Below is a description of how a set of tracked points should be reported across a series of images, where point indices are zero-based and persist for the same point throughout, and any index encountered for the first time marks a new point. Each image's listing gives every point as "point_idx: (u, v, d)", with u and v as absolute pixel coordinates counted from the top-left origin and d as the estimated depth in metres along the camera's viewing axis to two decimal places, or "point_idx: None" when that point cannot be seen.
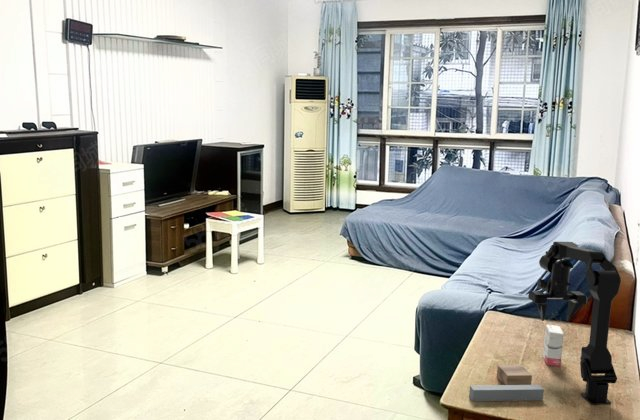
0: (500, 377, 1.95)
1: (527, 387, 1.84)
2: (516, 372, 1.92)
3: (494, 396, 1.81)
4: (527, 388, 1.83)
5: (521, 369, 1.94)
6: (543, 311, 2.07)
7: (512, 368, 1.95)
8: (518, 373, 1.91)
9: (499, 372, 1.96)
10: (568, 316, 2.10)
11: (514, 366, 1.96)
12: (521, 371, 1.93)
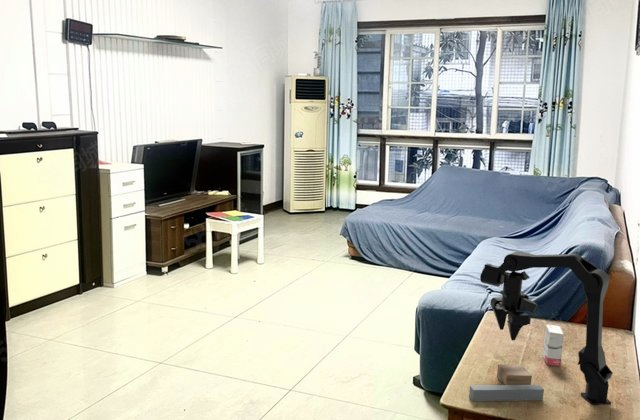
0: (500, 377, 1.95)
1: (527, 387, 1.84)
2: (515, 372, 1.92)
3: (494, 396, 1.81)
4: (527, 388, 1.83)
5: (521, 369, 1.94)
6: None
7: (513, 368, 1.95)
8: (518, 373, 1.91)
9: (499, 372, 1.96)
10: None
11: (514, 366, 1.96)
12: (521, 371, 1.93)
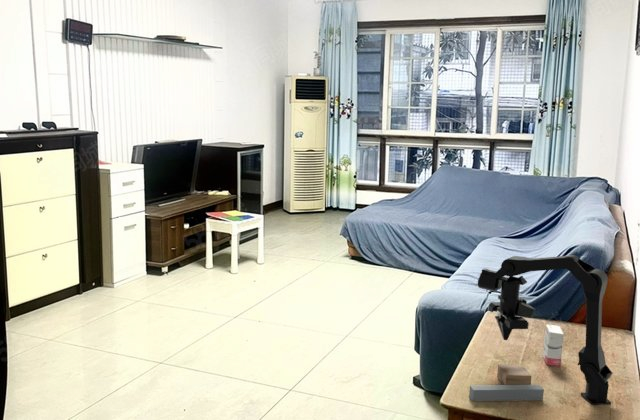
0: (500, 377, 1.95)
1: (527, 387, 1.84)
2: (515, 372, 1.92)
3: (494, 396, 1.81)
4: (527, 388, 1.83)
5: (521, 370, 1.94)
6: (499, 326, 2.02)
7: (513, 368, 1.95)
8: (518, 373, 1.91)
9: (499, 372, 1.96)
10: None
11: (515, 366, 1.96)
12: (521, 371, 1.93)
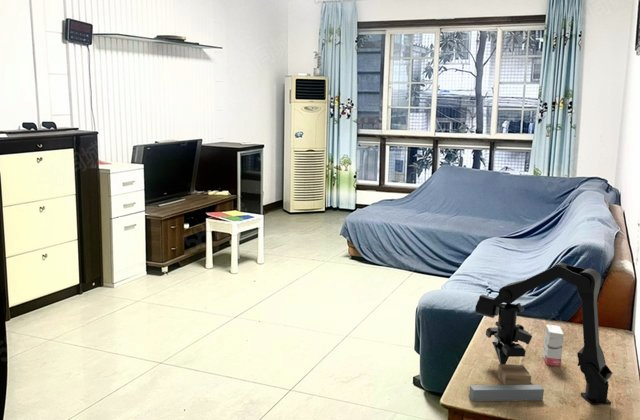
0: (500, 377, 1.96)
1: (527, 387, 1.84)
2: (515, 372, 1.92)
3: (494, 396, 1.81)
4: (527, 388, 1.83)
5: (521, 370, 1.94)
6: (496, 352, 2.03)
7: (513, 368, 1.95)
8: (518, 373, 1.91)
9: (499, 372, 1.96)
10: None
11: (515, 366, 1.96)
12: (521, 371, 1.93)
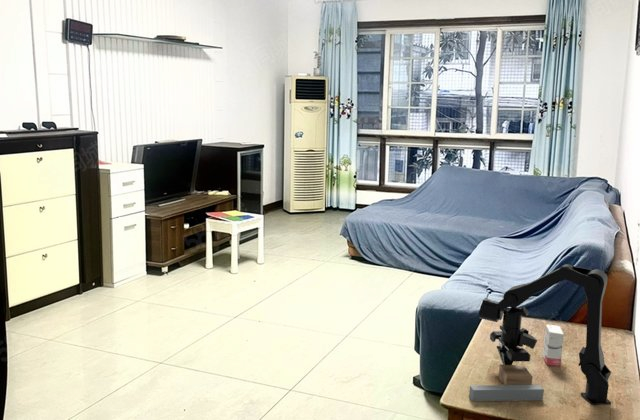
0: (501, 377, 1.95)
1: (527, 387, 1.84)
2: (516, 373, 1.91)
3: (494, 396, 1.81)
4: (527, 388, 1.83)
5: (523, 370, 1.93)
6: None
7: (514, 369, 1.94)
8: (519, 374, 1.91)
9: (500, 372, 1.96)
10: None
11: (516, 367, 1.96)
12: (522, 371, 1.93)
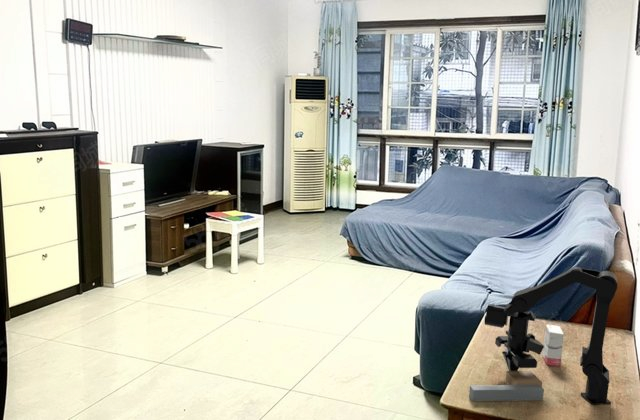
0: (509, 384, 1.90)
1: (527, 387, 1.84)
2: (525, 379, 1.87)
3: (494, 396, 1.81)
4: (527, 388, 1.83)
5: (531, 376, 1.89)
6: (506, 362, 1.95)
7: (522, 375, 1.90)
8: (528, 380, 1.86)
9: (508, 379, 1.91)
10: None
11: (523, 372, 1.92)
12: (531, 377, 1.88)
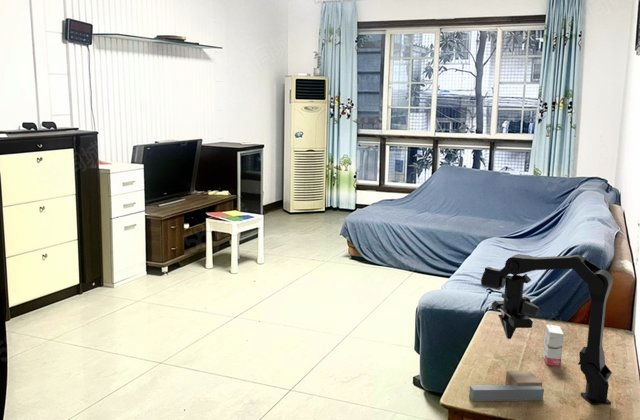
0: None
1: (527, 387, 1.84)
2: (525, 380, 1.87)
3: (494, 396, 1.81)
4: (527, 388, 1.83)
5: (531, 376, 1.89)
6: (502, 325, 2.00)
7: (522, 375, 1.90)
8: (528, 380, 1.86)
9: (508, 379, 1.91)
10: None
11: (523, 373, 1.92)
12: (531, 378, 1.88)
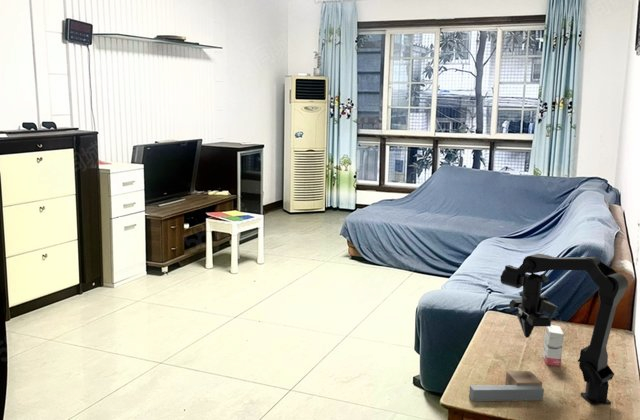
0: (509, 384, 1.90)
1: (527, 387, 1.84)
2: (525, 380, 1.87)
3: (494, 396, 1.81)
4: (527, 388, 1.83)
5: (531, 376, 1.89)
6: None
7: (522, 375, 1.90)
8: (528, 380, 1.86)
9: (508, 379, 1.91)
10: None
11: (523, 373, 1.92)
12: (531, 378, 1.88)
